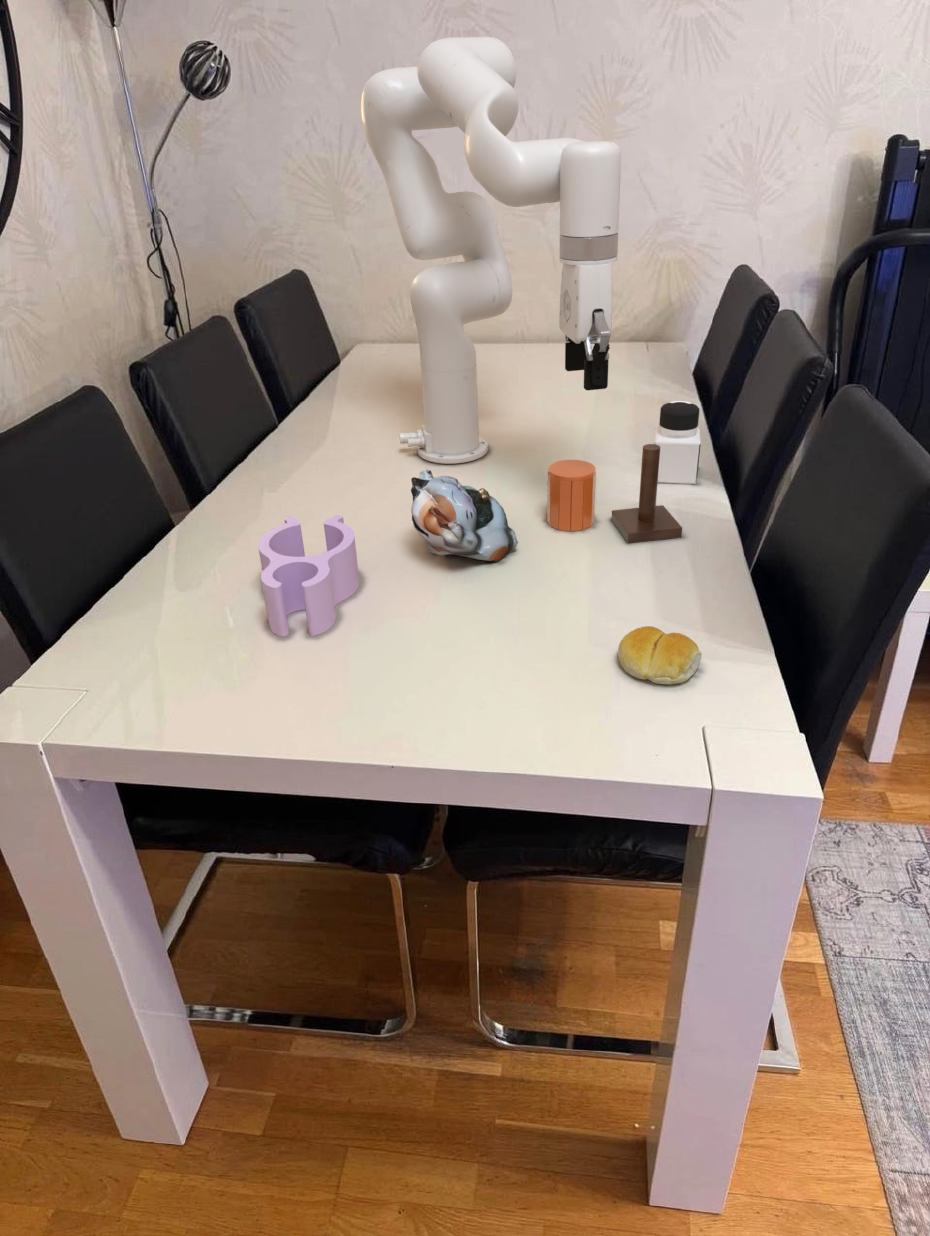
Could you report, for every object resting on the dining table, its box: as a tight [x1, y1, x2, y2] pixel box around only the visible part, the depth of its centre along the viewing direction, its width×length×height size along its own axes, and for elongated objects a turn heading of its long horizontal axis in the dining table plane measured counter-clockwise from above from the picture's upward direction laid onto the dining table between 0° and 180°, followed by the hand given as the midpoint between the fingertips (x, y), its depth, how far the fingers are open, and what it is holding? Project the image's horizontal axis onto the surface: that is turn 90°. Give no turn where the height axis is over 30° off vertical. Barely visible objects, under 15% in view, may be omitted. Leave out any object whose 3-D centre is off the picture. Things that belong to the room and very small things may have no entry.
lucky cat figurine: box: [410, 469, 519, 563], centre depth 124 cm, size 15×12×14 cm
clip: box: [257, 514, 360, 638], centre depth 117 cm, size 20×12×7 cm, turn 0°
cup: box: [546, 459, 597, 532], centre depth 133 cm, size 7×7×8 cm
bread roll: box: [618, 625, 703, 685], centre depth 101 cm, size 8×9×4 cm
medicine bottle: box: [653, 400, 702, 485], centre depth 145 cm, size 7×7×12 cm
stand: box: [610, 443, 683, 544], centre depth 128 cm, size 8×8×13 cm
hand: (585, 379), depth 126 cm, fingers open, 9 cm apart
